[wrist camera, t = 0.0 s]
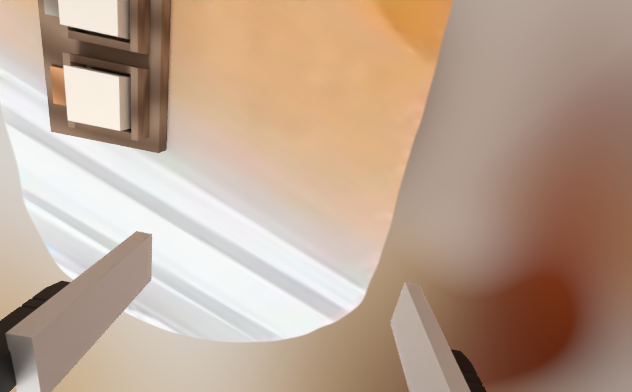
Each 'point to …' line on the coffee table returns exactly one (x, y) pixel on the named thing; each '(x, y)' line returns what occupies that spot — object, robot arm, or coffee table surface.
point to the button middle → (97, 16)
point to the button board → (113, 71)
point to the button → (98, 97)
